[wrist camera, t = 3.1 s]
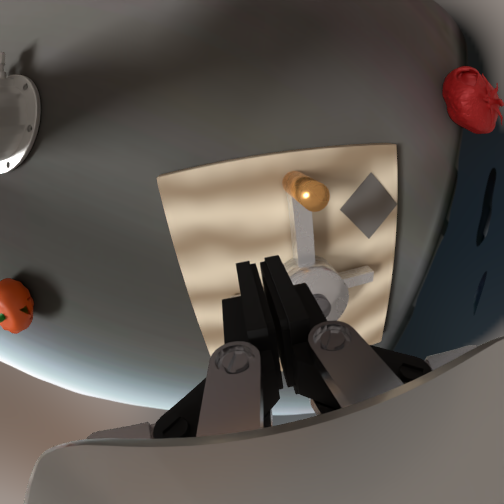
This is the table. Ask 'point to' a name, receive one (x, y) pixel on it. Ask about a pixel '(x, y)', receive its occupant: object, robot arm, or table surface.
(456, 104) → the pomegranate
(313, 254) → the cylinder
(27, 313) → the pumpkin
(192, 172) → the wooden board
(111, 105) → the table surface
